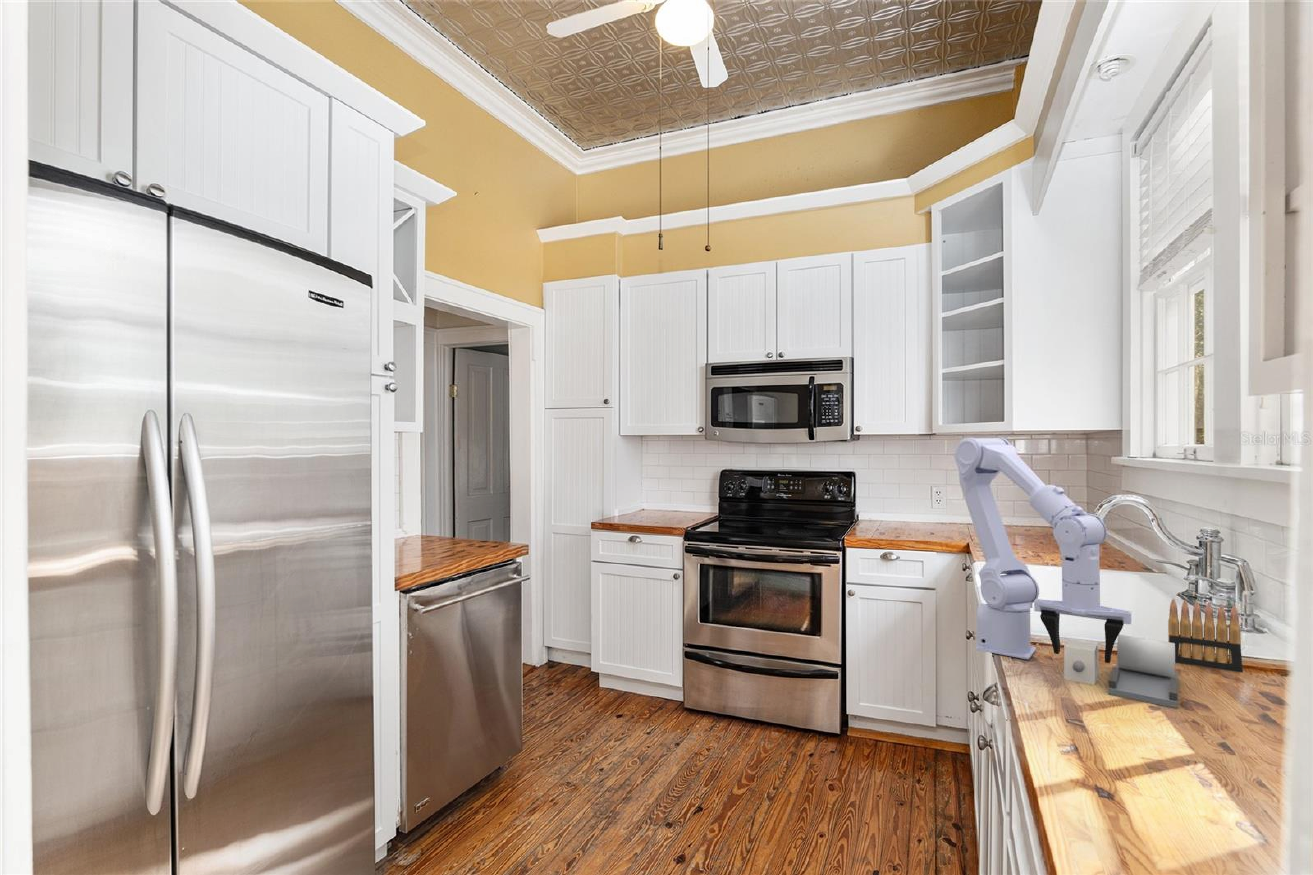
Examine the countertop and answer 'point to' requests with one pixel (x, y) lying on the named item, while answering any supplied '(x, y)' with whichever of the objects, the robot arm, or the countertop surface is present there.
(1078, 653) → the block
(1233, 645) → the ammunition clip
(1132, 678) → the motor mount
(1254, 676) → the countertop surface
